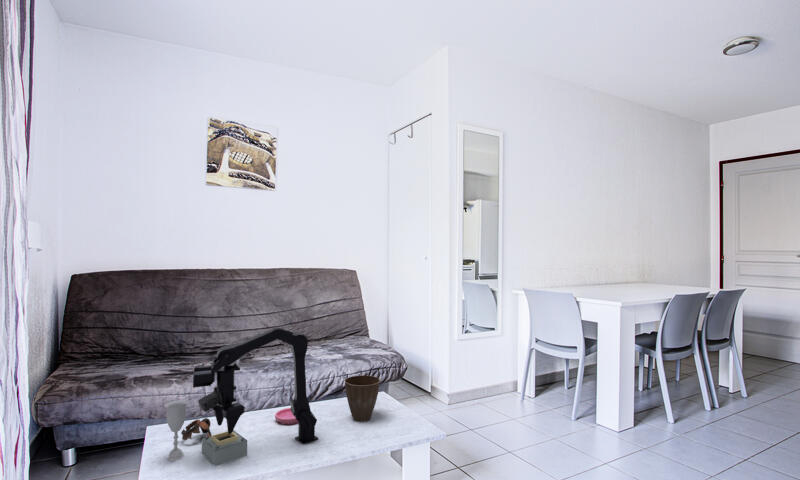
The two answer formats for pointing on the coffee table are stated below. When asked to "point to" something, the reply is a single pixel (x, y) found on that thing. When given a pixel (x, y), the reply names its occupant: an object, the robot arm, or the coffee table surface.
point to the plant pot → (362, 395)
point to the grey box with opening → (224, 447)
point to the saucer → (285, 416)
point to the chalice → (176, 424)
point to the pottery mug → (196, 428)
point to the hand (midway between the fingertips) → (224, 429)
